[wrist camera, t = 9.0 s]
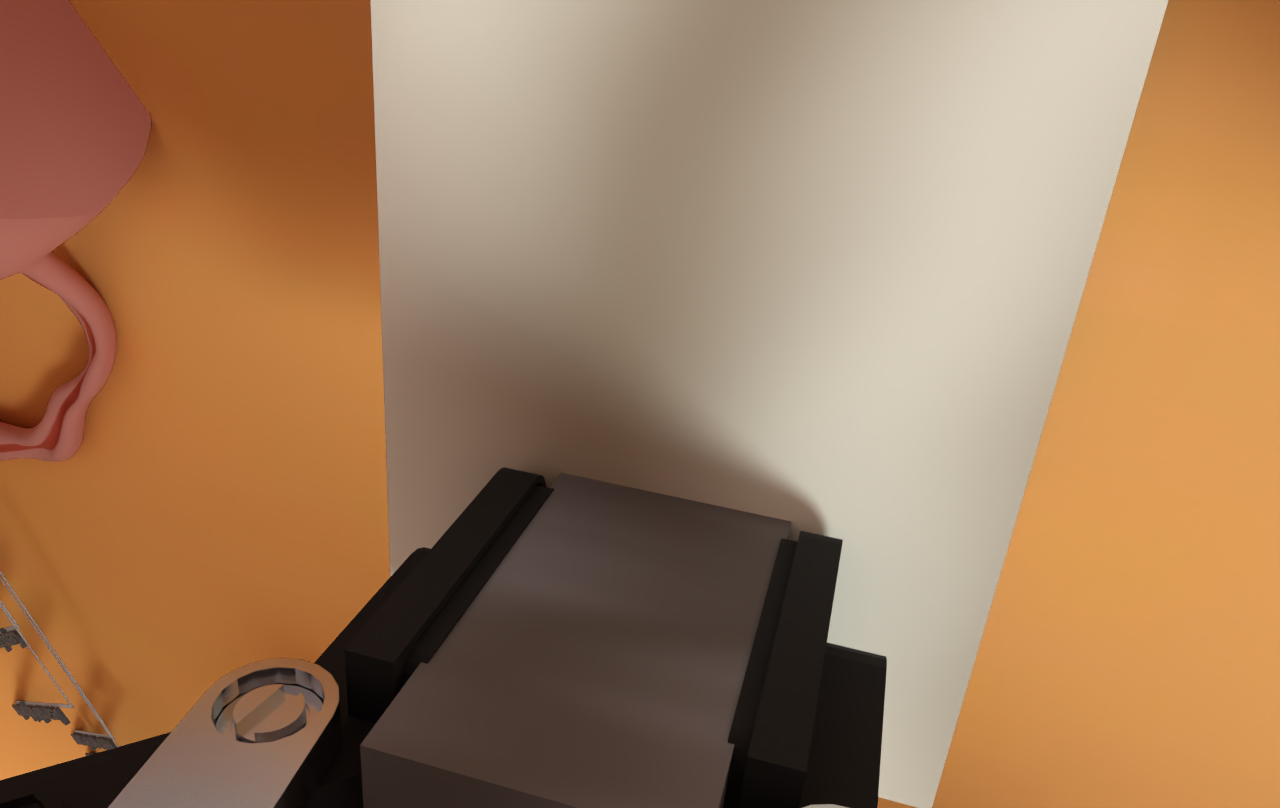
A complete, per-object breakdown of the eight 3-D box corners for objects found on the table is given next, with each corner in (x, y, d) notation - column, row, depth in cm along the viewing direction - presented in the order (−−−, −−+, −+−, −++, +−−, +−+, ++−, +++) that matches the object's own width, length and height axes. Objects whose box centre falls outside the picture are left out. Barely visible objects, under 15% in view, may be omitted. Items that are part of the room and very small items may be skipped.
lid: (1289, -505, 8) (1989, -1431, 3) (931, 758, 14) (929, 1236, 9) (404, -499, 10) (-234, -1064, 4) (423, 628, 16) (164, 965, 10)
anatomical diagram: (-601, -126, 15) (301, 1034, 20) (-22, -181, 21) (572, 730, 26) (-402, 280, 30) (82, 884, 35) (-98, 184, 36) (284, 714, 41)
